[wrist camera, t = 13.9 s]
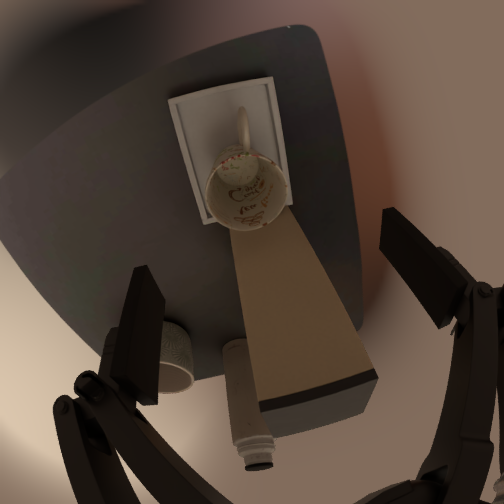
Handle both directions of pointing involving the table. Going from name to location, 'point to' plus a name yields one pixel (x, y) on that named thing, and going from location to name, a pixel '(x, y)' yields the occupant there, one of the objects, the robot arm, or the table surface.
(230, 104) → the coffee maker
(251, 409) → the thermos bottle
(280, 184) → the mug
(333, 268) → the table surface
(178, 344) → the planter
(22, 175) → the table surface
